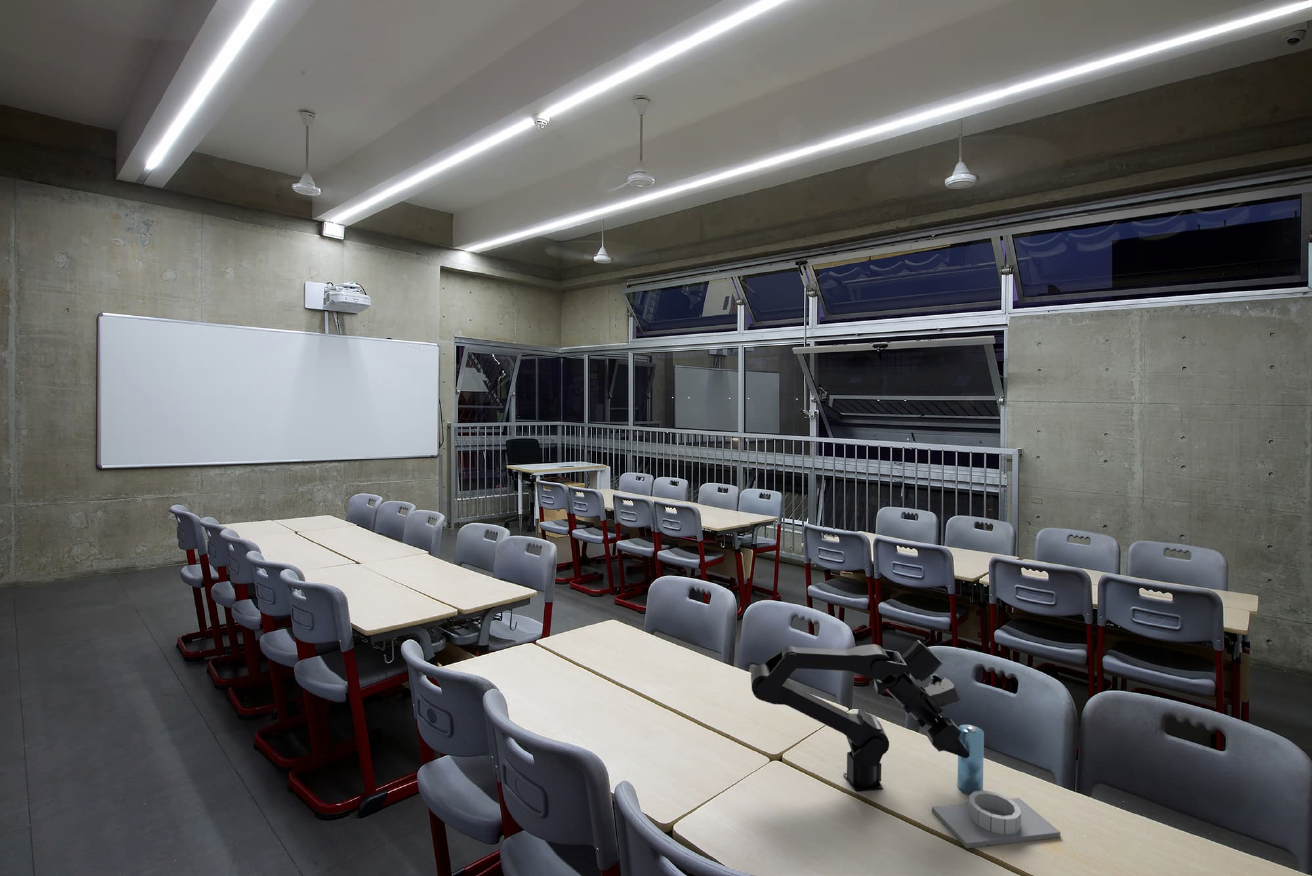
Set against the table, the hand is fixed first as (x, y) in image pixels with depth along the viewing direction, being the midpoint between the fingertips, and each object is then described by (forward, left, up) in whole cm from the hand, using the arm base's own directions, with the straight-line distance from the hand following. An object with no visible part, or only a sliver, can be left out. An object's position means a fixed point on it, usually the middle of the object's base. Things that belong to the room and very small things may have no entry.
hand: (959, 745), depth 136 cm
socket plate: (-1, -12, -9) cm, 15 cm away
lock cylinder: (+2, -1, -9) cm, 10 cm away
